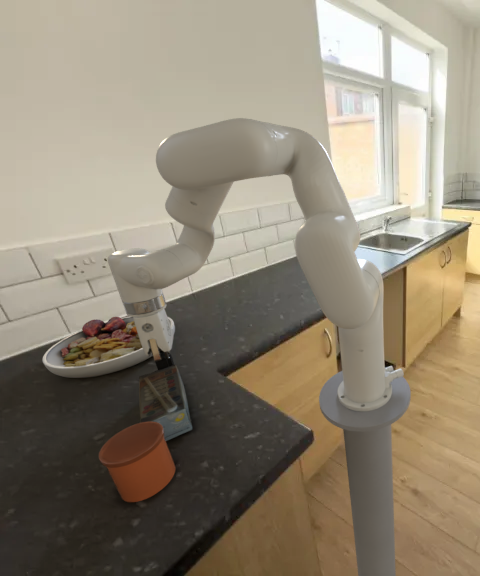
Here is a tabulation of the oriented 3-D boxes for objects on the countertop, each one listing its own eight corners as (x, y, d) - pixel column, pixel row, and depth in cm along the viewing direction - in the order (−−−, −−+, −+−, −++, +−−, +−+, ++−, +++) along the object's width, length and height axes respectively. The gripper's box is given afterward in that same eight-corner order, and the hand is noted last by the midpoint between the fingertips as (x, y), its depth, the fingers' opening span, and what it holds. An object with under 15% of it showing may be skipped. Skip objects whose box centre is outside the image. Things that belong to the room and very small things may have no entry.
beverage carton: (147, 450, 61) (136, 424, 59) (145, 396, 76) (136, 374, 73) (194, 430, 65) (185, 405, 63) (183, 383, 80) (176, 361, 78)
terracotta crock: (178, 451, 61) (165, 414, 58) (176, 488, 54) (160, 448, 51) (123, 471, 57) (105, 433, 54) (112, 514, 50) (91, 473, 47)
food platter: (198, 338, 101) (192, 316, 98) (83, 397, 76) (70, 370, 73) (144, 321, 114) (137, 300, 111) (30, 367, 89) (17, 343, 86)
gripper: (161, 312, 67) (183, 383, 74) (167, 289, 79) (186, 352, 86) (117, 321, 64) (144, 394, 71) (130, 296, 76) (153, 360, 83)
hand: (167, 371), depth 78 cm, fingers closed
